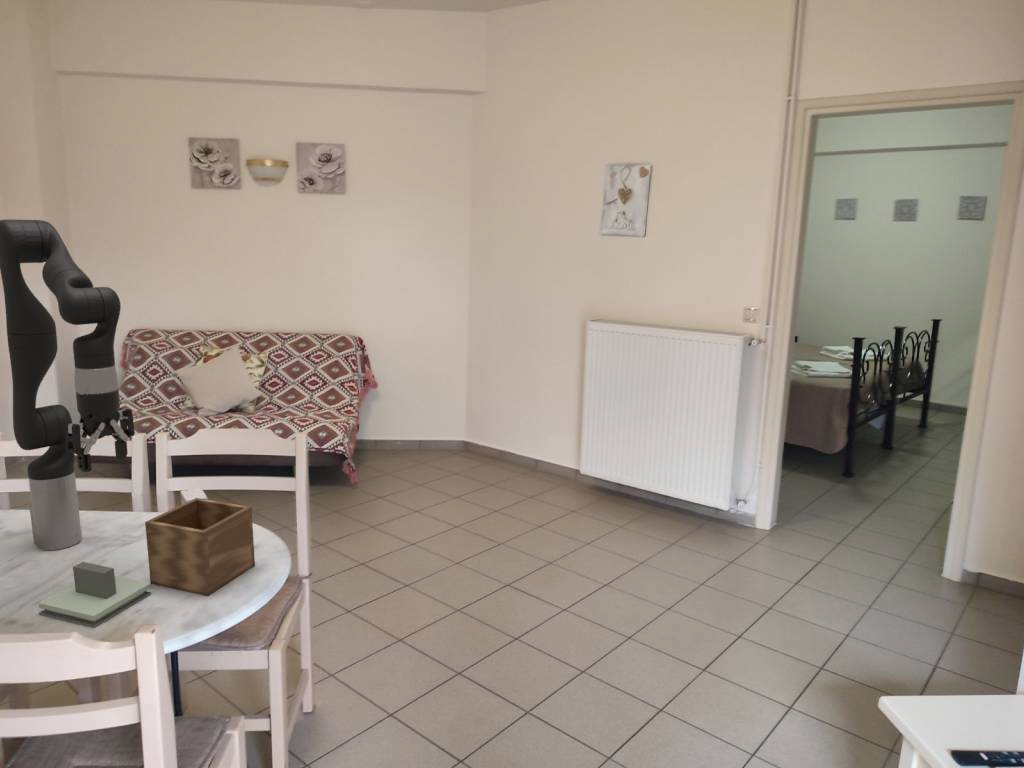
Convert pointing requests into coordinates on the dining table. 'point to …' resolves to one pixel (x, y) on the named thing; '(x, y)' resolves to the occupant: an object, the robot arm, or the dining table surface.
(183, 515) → the box
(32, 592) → the dining table surface
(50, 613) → the mat
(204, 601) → the dining table surface
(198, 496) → the ink box
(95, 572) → the lid
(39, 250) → the robot arm
